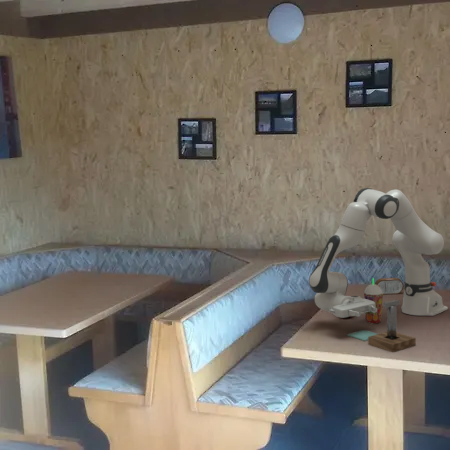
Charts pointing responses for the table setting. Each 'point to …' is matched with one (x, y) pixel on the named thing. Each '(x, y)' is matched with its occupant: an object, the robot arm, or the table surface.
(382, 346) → the walnut key-slot block
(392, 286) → the digital desk clock
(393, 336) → the gunmetal T-key
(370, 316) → the smoothie
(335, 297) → the robot arm
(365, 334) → the teal rubber mat
